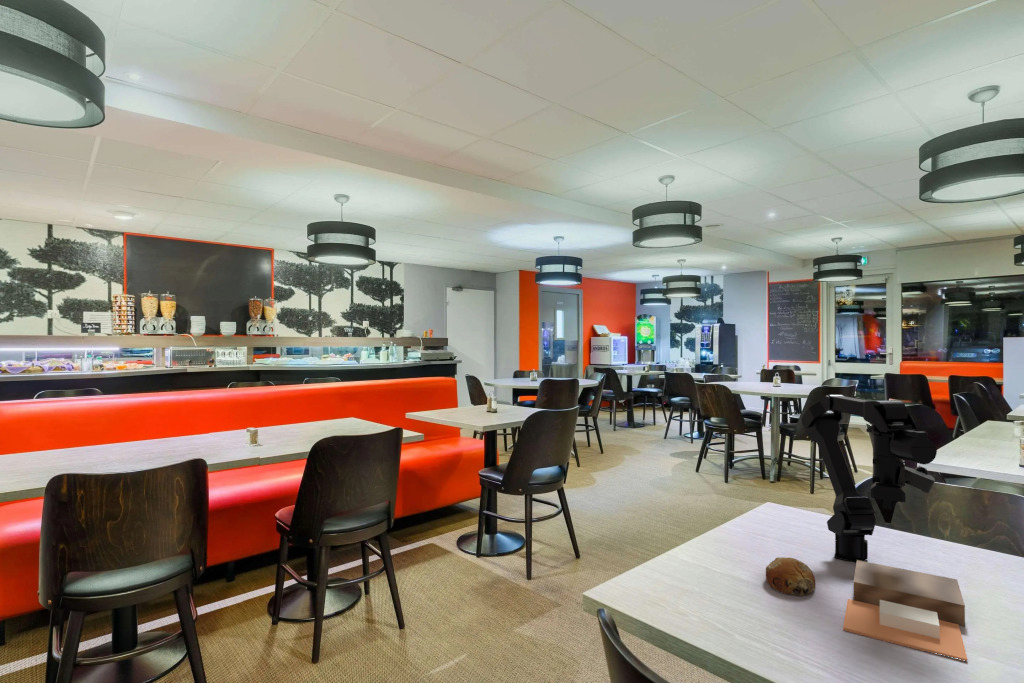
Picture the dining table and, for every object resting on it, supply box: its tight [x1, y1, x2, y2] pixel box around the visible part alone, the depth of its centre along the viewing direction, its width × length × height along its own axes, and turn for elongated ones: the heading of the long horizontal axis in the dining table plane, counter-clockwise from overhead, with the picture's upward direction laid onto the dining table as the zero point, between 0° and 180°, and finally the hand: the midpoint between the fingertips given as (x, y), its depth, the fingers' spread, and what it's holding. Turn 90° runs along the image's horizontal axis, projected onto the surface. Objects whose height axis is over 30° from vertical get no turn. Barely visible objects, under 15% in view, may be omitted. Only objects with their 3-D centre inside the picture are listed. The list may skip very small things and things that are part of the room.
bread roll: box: [765, 556, 816, 597], centre depth 120 cm, size 10×10×8 cm
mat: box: [842, 598, 969, 662], centre depth 102 cm, size 18×14×1 cm
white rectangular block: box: [880, 600, 940, 639], centre depth 102 cm, size 9×6×2 cm, turn 55°
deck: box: [853, 560, 966, 627], centre depth 113 cm, size 18×14×4 cm
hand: (888, 522), depth 123 cm, fingers closed
